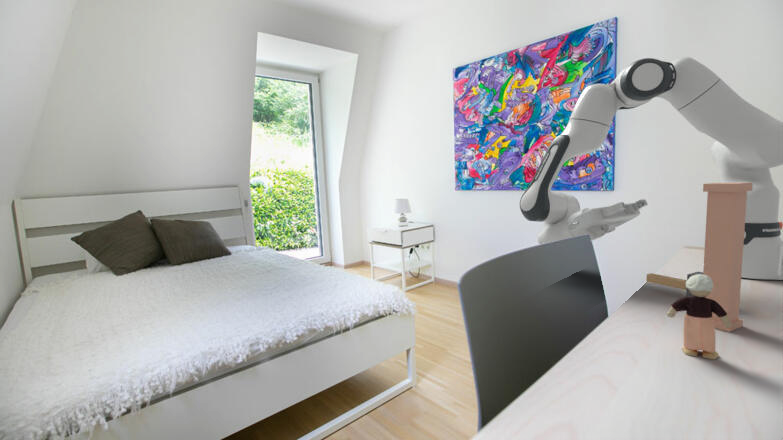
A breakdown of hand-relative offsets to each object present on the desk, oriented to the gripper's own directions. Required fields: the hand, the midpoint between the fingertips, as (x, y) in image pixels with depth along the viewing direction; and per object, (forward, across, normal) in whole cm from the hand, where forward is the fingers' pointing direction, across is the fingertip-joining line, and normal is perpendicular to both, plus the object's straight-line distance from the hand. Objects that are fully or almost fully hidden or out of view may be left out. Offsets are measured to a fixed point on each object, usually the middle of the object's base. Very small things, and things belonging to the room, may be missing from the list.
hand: (634, 203), depth 93 cm
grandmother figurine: (+13, -29, +30) cm, 44 cm away
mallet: (0, -1, +23) cm, 23 cm away
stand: (+10, -13, +29) cm, 33 cm away
